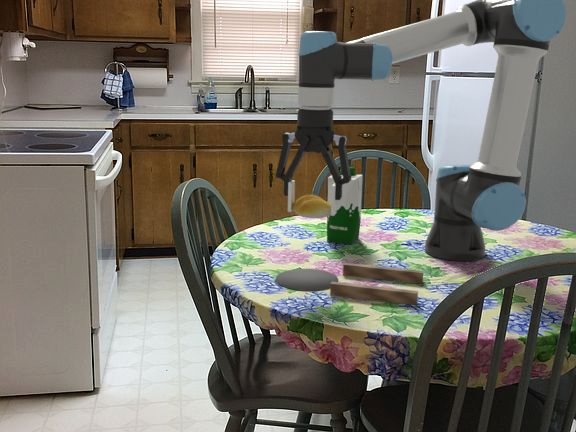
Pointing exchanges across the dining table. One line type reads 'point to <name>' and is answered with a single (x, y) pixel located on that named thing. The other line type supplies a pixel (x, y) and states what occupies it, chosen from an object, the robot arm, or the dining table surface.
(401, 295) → the chute
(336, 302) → the dining table surface
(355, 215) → the milk carton
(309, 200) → the bread roll
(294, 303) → the dining table surface
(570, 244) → the dining table surface
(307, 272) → the mat
